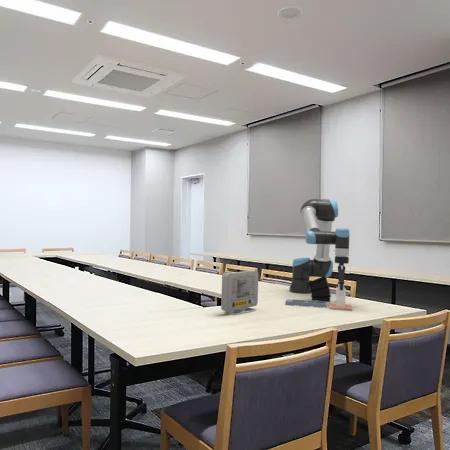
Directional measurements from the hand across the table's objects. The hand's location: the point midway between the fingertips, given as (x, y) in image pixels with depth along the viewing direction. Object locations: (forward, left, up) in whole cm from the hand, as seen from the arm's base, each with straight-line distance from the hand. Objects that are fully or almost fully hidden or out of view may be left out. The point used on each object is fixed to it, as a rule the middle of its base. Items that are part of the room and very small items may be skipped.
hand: (340, 294), depth 238 cm
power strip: (0, -19, -7) cm, 20 cm away
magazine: (-20, -12, -8) cm, 24 cm away
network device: (+33, -50, -8) cm, 60 cm away
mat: (0, 0, -7) cm, 7 cm away
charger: (0, 0, -6) cm, 6 cm away
